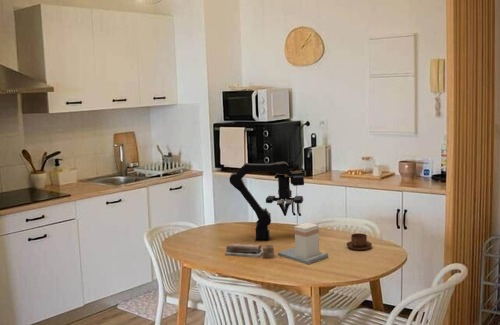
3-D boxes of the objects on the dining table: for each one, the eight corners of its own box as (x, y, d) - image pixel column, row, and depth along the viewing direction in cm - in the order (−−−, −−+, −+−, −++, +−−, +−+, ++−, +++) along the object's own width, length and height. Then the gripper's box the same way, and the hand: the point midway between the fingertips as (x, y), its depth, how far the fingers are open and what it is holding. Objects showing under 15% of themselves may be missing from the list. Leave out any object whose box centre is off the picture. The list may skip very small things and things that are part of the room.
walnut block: (263, 258, 267) (262, 248, 266) (263, 255, 272) (262, 245, 271) (274, 258, 267) (273, 247, 266) (273, 254, 272) (273, 244, 271)
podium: (278, 255, 271) (277, 250, 271) (297, 248, 279) (297, 244, 279) (308, 264, 256) (308, 259, 255) (328, 257, 264) (328, 252, 264)
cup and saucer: (372, 251, 269) (371, 239, 268) (346, 251, 272) (346, 239, 271) (371, 244, 281) (371, 232, 280) (346, 244, 283) (346, 232, 282)
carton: (295, 255, 265) (294, 226, 263) (308, 251, 270) (307, 222, 268) (306, 258, 260) (305, 229, 257) (319, 254, 265) (318, 225, 263)
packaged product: (223, 246, 274) (231, 240, 283) (224, 256, 275) (232, 250, 284) (259, 248, 268) (266, 242, 277) (259, 258, 269) (266, 252, 278)
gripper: (304, 183, 299) (305, 212, 301) (269, 183, 304) (271, 211, 306) (300, 187, 288) (302, 217, 291) (264, 187, 293) (266, 217, 296)
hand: (285, 215), depth 296 cm, fingers closed
